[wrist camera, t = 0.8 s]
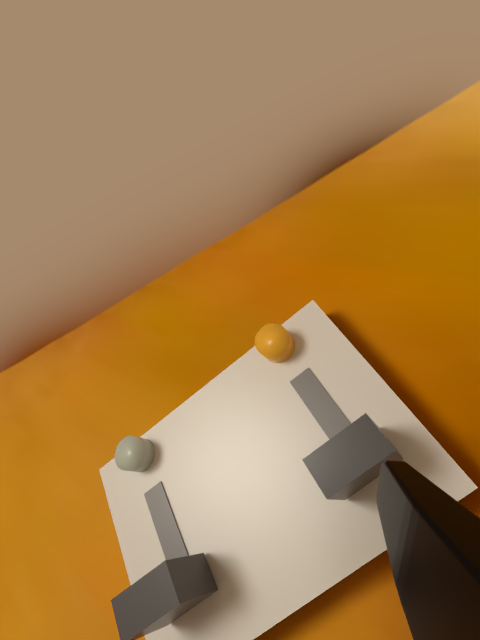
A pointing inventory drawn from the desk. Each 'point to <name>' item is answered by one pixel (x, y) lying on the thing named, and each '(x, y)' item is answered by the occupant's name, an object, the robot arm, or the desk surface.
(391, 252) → the desk surface
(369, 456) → the lever tagged
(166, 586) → the lever
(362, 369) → the panel
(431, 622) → the robot arm
